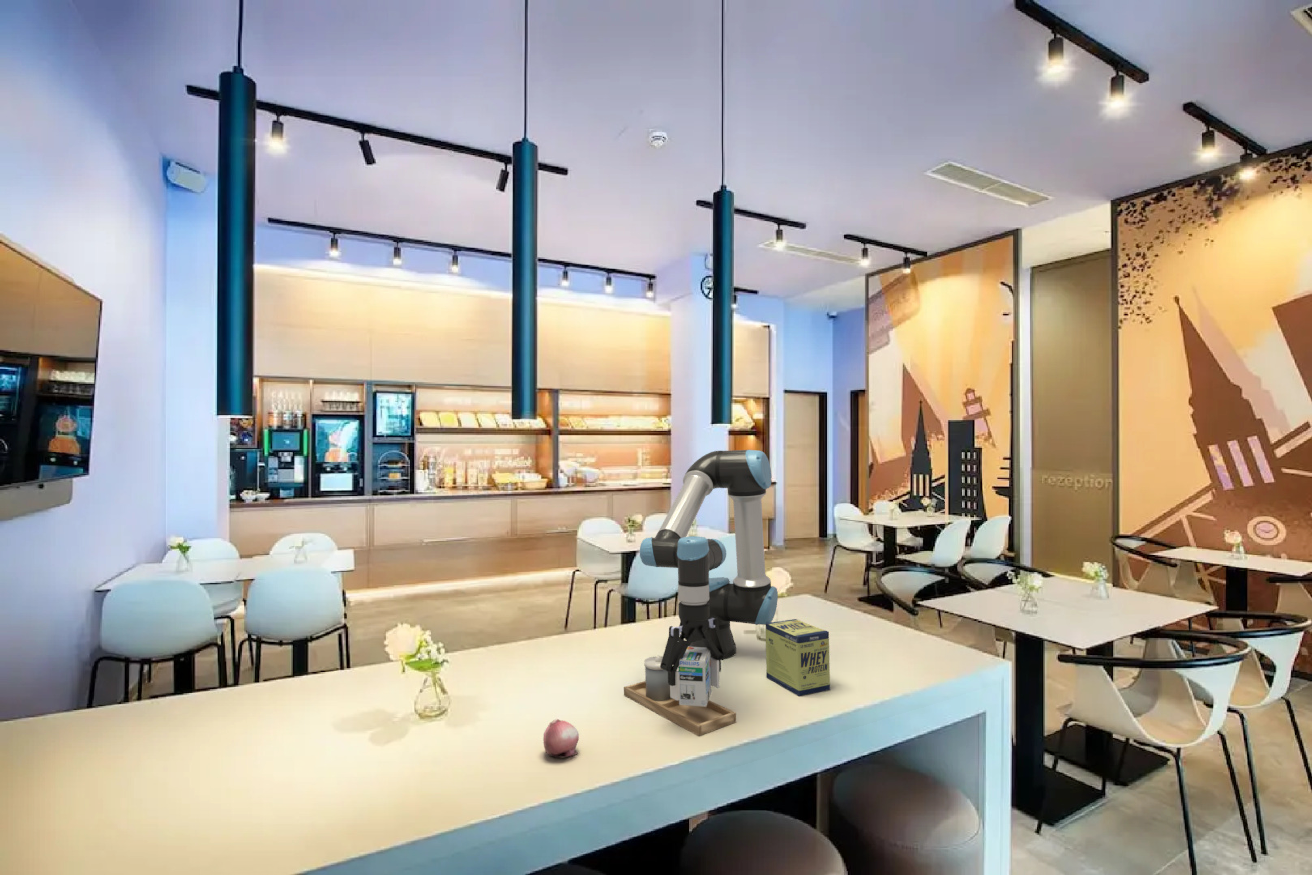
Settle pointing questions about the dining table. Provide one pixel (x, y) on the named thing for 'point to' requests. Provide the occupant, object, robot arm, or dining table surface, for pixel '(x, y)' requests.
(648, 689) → the slate jar
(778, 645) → the protein box
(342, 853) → the dining table surface
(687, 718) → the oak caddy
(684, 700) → the light bulb box
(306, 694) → the dining table surface
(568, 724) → the onion
